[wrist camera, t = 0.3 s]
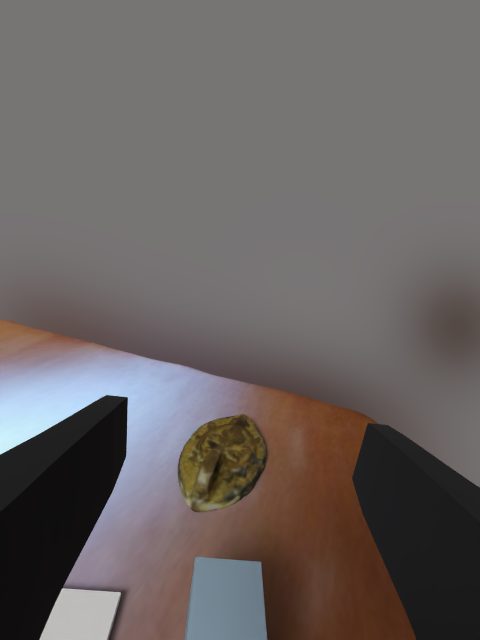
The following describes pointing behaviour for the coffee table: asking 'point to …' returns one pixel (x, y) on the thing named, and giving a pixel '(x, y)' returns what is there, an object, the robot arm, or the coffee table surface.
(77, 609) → the baseplate
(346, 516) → the coffee table surface
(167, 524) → the coffee table surface
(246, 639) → the slate-blue brick
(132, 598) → the coffee table surface
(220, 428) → the olive-yellow oval lump
